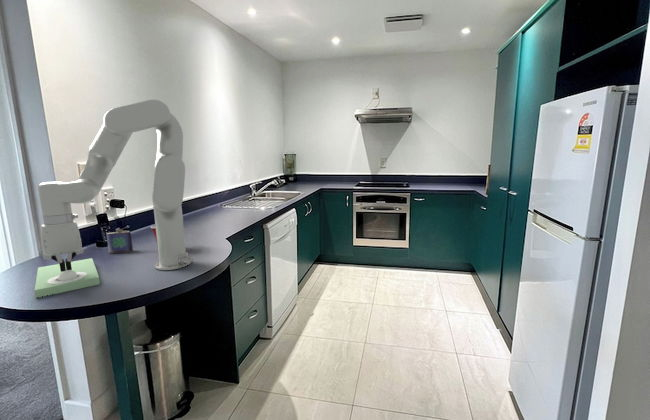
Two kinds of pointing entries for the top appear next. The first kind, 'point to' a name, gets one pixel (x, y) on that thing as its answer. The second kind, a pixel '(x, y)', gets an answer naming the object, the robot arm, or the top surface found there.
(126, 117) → the robot arm
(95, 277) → the tissue box
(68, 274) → the ball
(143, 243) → the top surface
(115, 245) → the flask
